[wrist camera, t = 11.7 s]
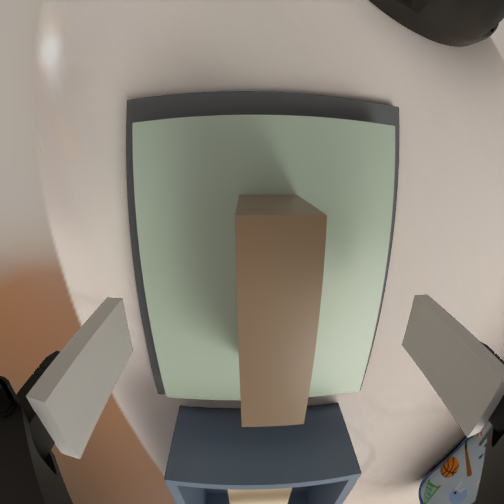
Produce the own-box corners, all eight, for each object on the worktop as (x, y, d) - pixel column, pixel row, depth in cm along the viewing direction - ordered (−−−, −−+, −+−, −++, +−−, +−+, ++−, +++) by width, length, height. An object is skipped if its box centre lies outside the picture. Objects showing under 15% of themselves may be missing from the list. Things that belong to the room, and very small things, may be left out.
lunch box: (434, 484, 33) (467, 564, 12) (400, 490, 32) (433, 584, 11) (535, 374, 26) (601, 451, 5) (517, 368, 25) (597, 464, 4)
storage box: (179, 406, 23) (164, 479, 15) (338, 403, 23) (361, 473, 16) (202, 490, 28) (197, 539, 21) (310, 488, 29) (318, 536, 21)
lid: (144, 126, 16) (74, 107, 8) (380, 128, 16) (461, 116, 8) (171, 380, 21) (148, 460, 14) (352, 375, 21) (384, 450, 14)
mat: (130, 101, 16) (127, 100, 15) (394, 108, 16) (398, 107, 16) (159, 389, 22) (158, 393, 22) (358, 385, 23) (360, 390, 22)
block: (227, 446, 24) (226, 479, 20) (290, 444, 24) (295, 477, 20) (231, 481, 26) (230, 508, 22) (283, 479, 26) (286, 507, 22)
